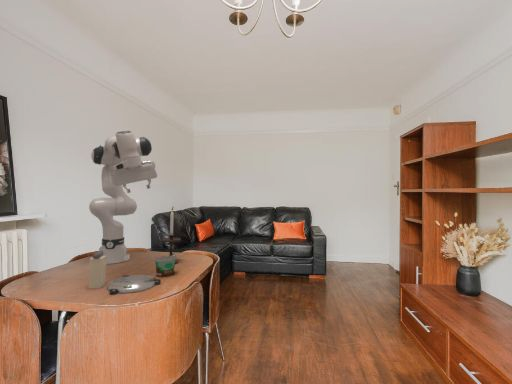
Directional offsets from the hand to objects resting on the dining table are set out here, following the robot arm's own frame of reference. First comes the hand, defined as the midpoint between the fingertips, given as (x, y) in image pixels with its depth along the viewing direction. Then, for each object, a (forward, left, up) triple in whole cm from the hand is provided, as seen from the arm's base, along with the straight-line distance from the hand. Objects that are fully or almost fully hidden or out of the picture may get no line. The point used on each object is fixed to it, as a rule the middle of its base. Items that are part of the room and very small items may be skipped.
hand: (139, 190), depth 130 cm
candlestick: (-25, +14, -44) cm, 53 cm away
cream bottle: (+12, -14, -44) cm, 47 cm away
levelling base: (+13, +2, -44) cm, 45 cm away
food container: (0, +15, -44) cm, 46 cm away
